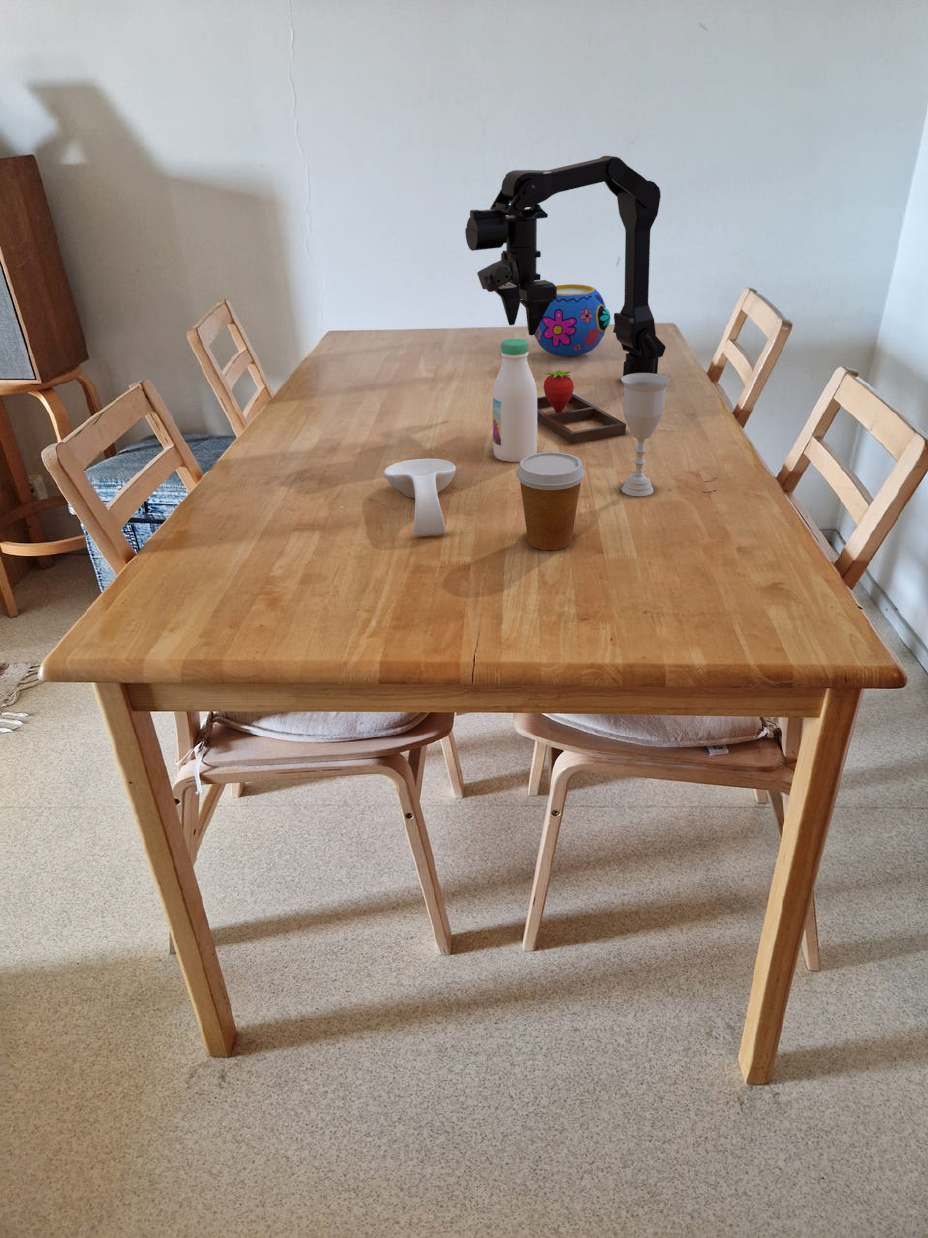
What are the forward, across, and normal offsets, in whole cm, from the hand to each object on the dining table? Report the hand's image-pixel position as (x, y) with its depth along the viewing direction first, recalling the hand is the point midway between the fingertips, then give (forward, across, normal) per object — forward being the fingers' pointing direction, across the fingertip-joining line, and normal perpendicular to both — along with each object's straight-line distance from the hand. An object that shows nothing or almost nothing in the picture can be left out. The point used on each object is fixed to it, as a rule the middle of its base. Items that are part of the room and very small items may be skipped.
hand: (521, 329), depth 177 cm
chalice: (+15, +49, -3) cm, 51 cm away
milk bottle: (+15, +26, -14) cm, 33 cm away
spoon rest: (+15, +39, -36) cm, 55 cm away
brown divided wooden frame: (+15, +15, +3) cm, 21 cm away
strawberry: (+15, +10, +3) cm, 18 cm away
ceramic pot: (+15, -27, +25) cm, 40 cm away
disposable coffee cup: (+15, +59, -24) cm, 65 cm away
